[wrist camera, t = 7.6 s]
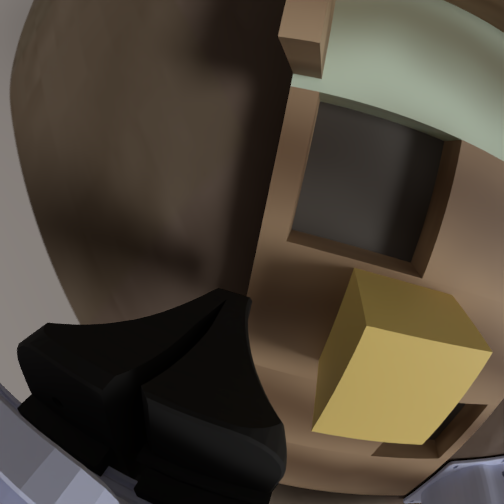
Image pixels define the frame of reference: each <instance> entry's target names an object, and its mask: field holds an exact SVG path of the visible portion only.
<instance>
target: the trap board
mask: <svg viewBox="0 0 504 504" xmlns="http://www.w3.org/2000/svg"><path fill="white" fill-rule="evenodd" d="M278 38H279V40H280V42H281V45H282V47H283V50H284V52H285V54H286V57H287V59H288V62H289V64H290V67H291V69H292V72H293V77H292V82H291V87H290V92H289V96H288V101H287V106H286V111H285V116H284V121H283V125H282V130H281V135H280V140H279V145H278V150H277V154H276V159H275V164H274V169H273V174H272V178H271V183H270V188H269V193H268V197H267V202H266V207H265V212H264V216H263V221H262V226H261V231H260V235H259V240H258V245H257V250H256V254H255V259H254V264H253V268H252V273H251V278H250V283H249V287H248V292H247V297H250V298H251V300H252V305H251V310H250V314H249V318H248V334H249V342H250V348H251V353H252V358H253V362H254V365H255V368H256V372H257V374H258V377H259V379H260V382H261V384H262V387H263V389H264V391H265V394H266V395H267V397H268V399H269V401H270V403H271V405H272V407H273V408H274V410H275V412H276V413H277V415H278V417H279V418H280V420H281V421H282V423H283V424H284V429H285V436H286V445H287V465H286V471H285V474H284V476H283V478H282V479H281V481H280V482H279V483H280V484H284V485H289V486H295V487H300V488H306V489H313V490H320V491H328V492H337V493H347V494H361V495H406V494H407V493H409V492H410V491H411V490H412V489H414V488H415V487H416V486H418V485H419V484H420V483H421V482H423V481H424V480H425V479H426V478H427V477H429V476H430V475H431V474H432V473H433V472H434V471H436V470H437V469H438V468H439V467H440V466H441V465H442V464H444V463H445V462H446V461H447V460H448V459H449V458H450V457H451V456H452V455H453V454H454V453H455V452H456V451H457V450H458V449H459V448H460V447H461V446H462V445H463V444H464V443H465V442H466V441H467V440H468V439H469V438H470V437H471V436H472V435H473V434H474V433H475V432H476V430H477V429H478V428H479V427H480V426H481V425H482V424H483V423H484V421H485V420H486V419H487V418H488V417H489V416H490V414H491V413H492V412H493V411H494V409H495V408H496V407H497V406H498V404H499V403H500V402H501V401H502V399H503V398H504V0H286V3H285V7H284V11H283V16H282V20H281V25H280V29H279V34H278ZM354 268H357V269H361V270H364V271H368V272H372V273H375V274H379V275H383V276H386V277H390V278H393V279H397V280H401V281H404V282H408V283H411V284H415V285H419V286H422V287H426V288H429V289H433V290H436V291H440V292H443V293H447V294H450V295H453V297H454V298H455V299H456V301H457V302H458V303H459V304H460V306H461V307H462V309H463V310H464V311H465V313H466V314H467V315H468V317H469V318H470V319H471V321H472V322H473V324H474V325H475V326H476V328H477V329H478V331H479V332H480V334H481V335H482V337H483V338H484V340H485V341H486V343H487V344H488V346H489V347H490V349H491V350H492V352H493V353H492V355H491V356H490V358H489V359H488V361H487V363H486V364H485V366H484V367H483V369H482V370H481V372H480V373H479V375H478V376H477V378H476V379H475V381H474V382H473V384H472V385H471V386H470V388H469V389H468V391H467V392H466V393H465V395H464V396H463V397H462V399H461V400H460V401H459V403H458V404H457V405H456V406H455V408H454V409H453V410H452V411H451V413H450V414H449V415H448V416H447V418H446V419H445V420H444V421H443V422H442V423H441V425H440V426H439V427H438V428H437V429H436V430H435V431H434V433H433V434H432V435H431V436H430V437H429V438H428V439H427V440H426V441H425V442H424V443H423V444H422V445H417V444H400V443H388V442H378V441H369V440H361V439H354V438H347V437H341V436H335V435H329V434H323V433H318V432H313V431H311V429H312V421H313V413H314V404H315V395H316V385H317V374H318V363H319V359H320V356H321V354H322V351H323V349H324V347H325V344H326V342H327V339H328V337H329V334H330V332H331V329H332V327H333V324H334V322H335V319H336V317H337V314H338V311H339V309H340V306H341V303H342V301H343V298H344V295H345V292H346V290H347V287H348V284H349V281H350V278H351V275H352V272H353V269H354Z"/></svg>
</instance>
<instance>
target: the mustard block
mask: <svg viewBox="0 0 504 504" xmlns="http://www.w3.org/2000/svg"><path fill="white" fill-rule="evenodd" d="M492 353H493V352H492V350H491V349H490V347H489V346H488V344H487V343H486V341H485V340H484V338H483V337H482V335H481V334H480V332H479V331H478V329H477V328H476V326H475V325H474V324H473V322H472V321H471V319H470V318H469V317H468V315H467V314H466V313H465V311H464V310H463V309H462V307H461V306H460V304H459V303H458V302H457V301H456V299H455V298H454V297H453V295H450V294H447V293H443V292H440V291H436V290H433V289H429V288H426V287H422V286H419V285H415V284H411V283H408V282H404V281H401V280H397V279H393V278H390V277H386V276H383V275H379V274H375V273H372V272H368V271H364V270H361V269H357V268H354V269H353V272H352V275H351V278H350V281H349V284H348V287H347V290H346V292H345V295H344V298H343V301H342V303H341V306H340V309H339V311H338V314H337V317H336V319H335V322H334V324H333V327H332V329H331V332H330V334H329V337H328V339H327V342H326V344H325V347H324V349H323V351H322V354H321V356H320V359H319V363H318V374H317V385H316V395H315V404H314V413H313V421H312V429H311V431H313V432H318V433H323V434H329V435H335V436H341V437H347V438H354V439H361V440H369V441H378V442H388V443H400V444H417V445H422V444H423V443H424V442H425V441H426V440H427V439H428V438H429V437H430V436H431V435H432V434H433V433H434V431H435V430H436V429H437V428H438V427H439V426H440V425H441V423H442V422H443V421H444V420H445V419H446V418H447V416H448V415H449V414H450V413H451V411H452V410H453V409H454V408H455V406H456V405H457V404H458V403H459V401H460V400H461V399H462V397H463V396H464V395H465V393H466V392H467V391H468V389H469V388H470V386H471V385H472V384H473V382H474V381H475V379H476V378H477V376H478V375H479V373H480V372H481V370H482V369H483V367H484V366H485V364H486V363H487V361H488V359H489V358H490V356H491V355H492Z"/></svg>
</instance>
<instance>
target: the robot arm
mask: <svg viewBox="0 0 504 504" xmlns="http://www.w3.org/2000/svg"><path fill="white" fill-rule="evenodd" d="M251 305H252V300H251V298H250V297H246V296H243V295H240V294H236V293H233V292H229V291H226V290H223V289H219V288H218V289H216V290H214V291H211V292H209V293H207V294H205V295H203V296H201V297H199V298H197V299H194V300H192V301H190V302H188V303H185V304H183V305H180V306H178V307H175V308H172V309H170V310H167V311H164V312H161V313H158V314H155V315H151V316H147V317H143V318H139V319H135V320H129V321H122V322H116V323H108V324H92V325H71V324H55V323H47V324H45V325H44V326H42V327H41V328H40V329H38V330H37V331H36V332H34V333H33V334H31V335H30V336H29V337H27V338H26V339H25V340H23V341H22V342H21V343H19V345H18V348H17V355H18V361H19V364H20V367H21V370H22V372H23V375H24V377H25V379H26V382H27V384H28V386H29V389H30V391H31V393H32V395H30V396H29V397H28V398H27V399H26V400H25V401H24V402H23V403H21V402H19V401H18V400H17V399H16V398H15V397H14V396H13V395H12V394H11V393H10V392H9V391H8V390H7V389H5V387H4V386H2V385H1V383H0V504H269V501H270V497H271V493H272V491H273V490H274V488H275V487H276V486H277V485H278V483H279V482H280V481H281V479H282V478H283V476H284V474H285V471H286V465H287V445H286V436H285V429H284V424H283V423H282V421H281V420H280V418H279V417H278V415H277V413H276V412H275V410H274V408H273V407H272V405H271V403H270V401H269V399H268V397H267V395H266V394H265V391H264V389H263V387H262V384H261V382H260V379H259V377H258V374H257V372H256V368H255V365H254V362H253V358H252V353H251V348H250V342H249V334H248V318H249V314H250V310H251ZM420 502H421V504H504V456H499V457H491V458H483V459H474V460H462V461H452V462H449V463H448V464H447V465H446V466H444V467H443V468H442V469H441V470H440V471H439V472H438V473H436V474H435V475H434V476H433V477H432V478H430V479H429V480H428V481H427V482H426V483H424V484H423V485H422V486H421V487H419V488H418V489H417V490H415V491H414V492H413V493H411V494H410V495H409V496H407V497H406V498H405V499H403V503H420Z"/></svg>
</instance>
